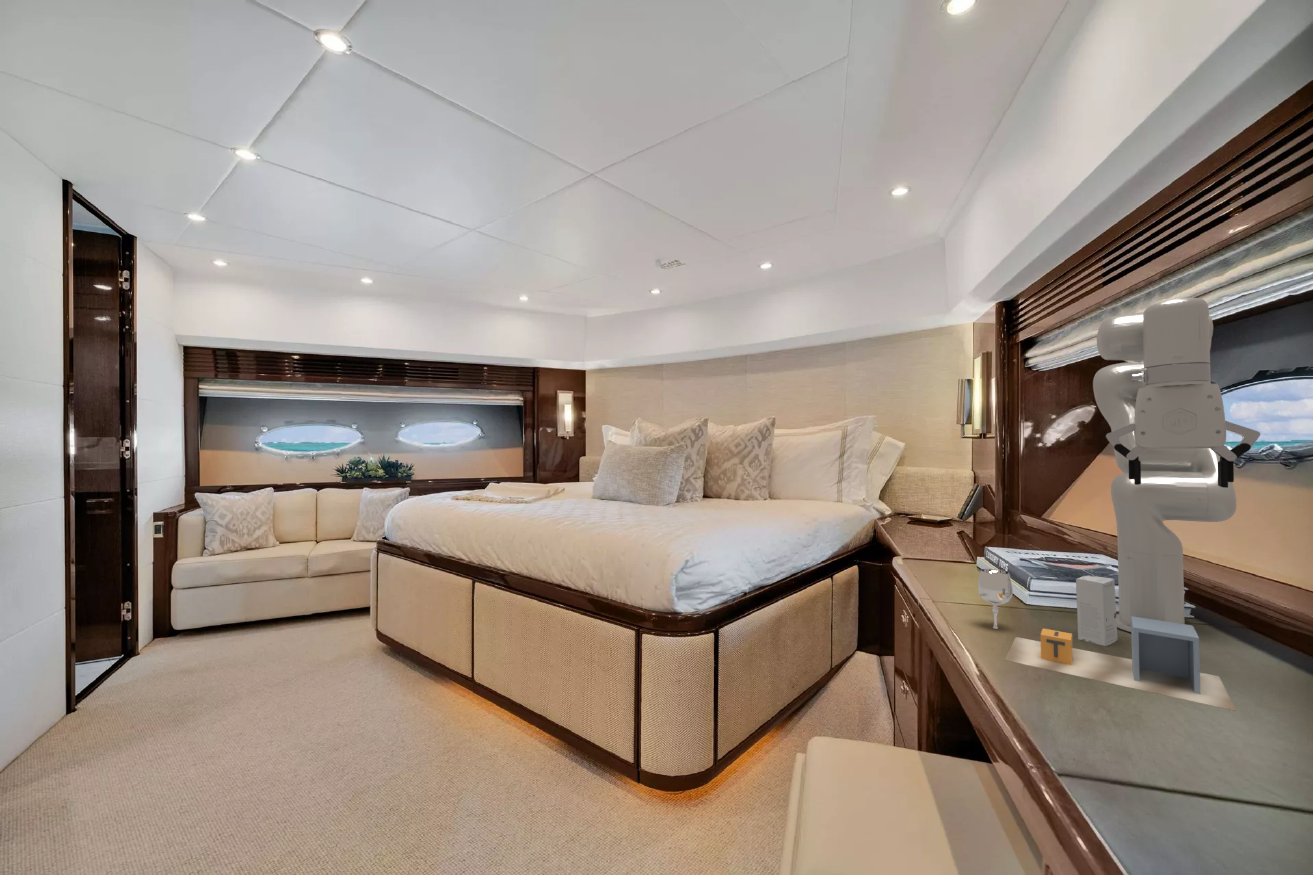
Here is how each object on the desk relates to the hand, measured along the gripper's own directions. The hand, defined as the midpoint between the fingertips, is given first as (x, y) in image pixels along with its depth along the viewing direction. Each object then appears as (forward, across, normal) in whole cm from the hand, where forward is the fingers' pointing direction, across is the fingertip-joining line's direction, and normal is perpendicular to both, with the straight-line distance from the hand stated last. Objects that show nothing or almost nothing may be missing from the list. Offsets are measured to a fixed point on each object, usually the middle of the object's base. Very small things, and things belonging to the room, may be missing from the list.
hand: (1178, 485), depth 83 cm
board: (+30, -9, -6) cm, 32 cm away
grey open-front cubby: (+29, -2, -6) cm, 30 cm away
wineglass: (+31, -26, +5) cm, 40 cm away
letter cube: (+29, -16, -6) cm, 34 cm away
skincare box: (+31, -10, +10) cm, 34 cm away
